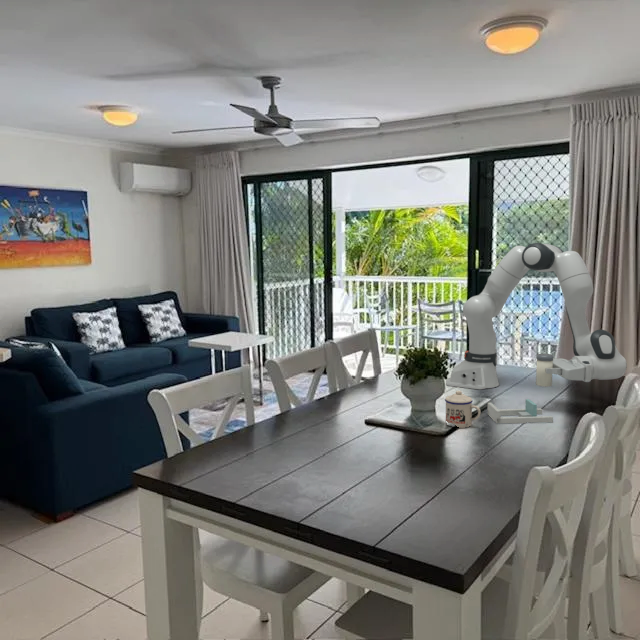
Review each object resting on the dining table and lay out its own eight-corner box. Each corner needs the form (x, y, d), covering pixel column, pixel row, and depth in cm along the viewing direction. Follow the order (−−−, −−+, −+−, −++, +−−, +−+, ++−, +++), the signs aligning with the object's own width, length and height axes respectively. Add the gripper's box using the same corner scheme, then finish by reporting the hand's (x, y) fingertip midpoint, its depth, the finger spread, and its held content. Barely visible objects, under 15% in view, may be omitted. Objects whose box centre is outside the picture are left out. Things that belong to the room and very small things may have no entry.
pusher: (528, 414, 216) (529, 399, 215) (536, 420, 208) (536, 404, 208) (516, 414, 215) (516, 399, 215) (523, 420, 208) (524, 405, 207)
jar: (535, 386, 219) (536, 356, 218) (535, 382, 225) (536, 353, 223) (552, 387, 217) (553, 357, 216) (552, 383, 223) (553, 354, 221)
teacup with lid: (441, 426, 205) (441, 392, 203) (450, 419, 213) (450, 386, 211) (475, 431, 199) (476, 396, 197) (484, 424, 206) (484, 390, 205)
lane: (540, 413, 217) (541, 401, 217) (552, 422, 207) (553, 409, 206) (487, 414, 217) (487, 402, 217) (497, 423, 206) (497, 411, 206)
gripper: (568, 353, 230) (531, 354, 230) (593, 365, 210) (553, 366, 210) (567, 370, 231) (531, 370, 231) (592, 383, 211) (552, 383, 211)
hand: (541, 368), depth 220 cm, fingers closed on jar, 5 cm apart
